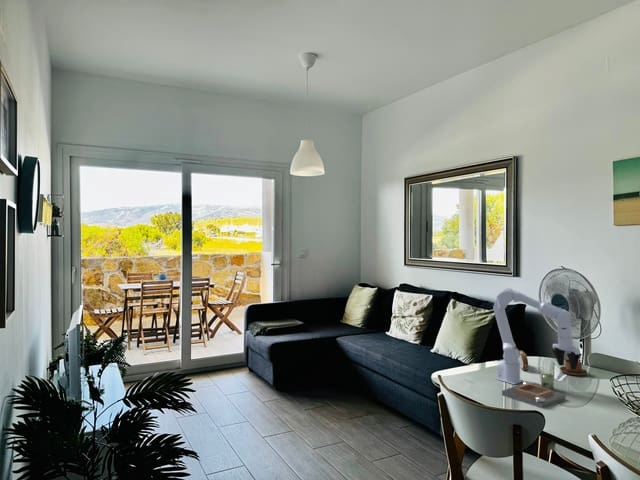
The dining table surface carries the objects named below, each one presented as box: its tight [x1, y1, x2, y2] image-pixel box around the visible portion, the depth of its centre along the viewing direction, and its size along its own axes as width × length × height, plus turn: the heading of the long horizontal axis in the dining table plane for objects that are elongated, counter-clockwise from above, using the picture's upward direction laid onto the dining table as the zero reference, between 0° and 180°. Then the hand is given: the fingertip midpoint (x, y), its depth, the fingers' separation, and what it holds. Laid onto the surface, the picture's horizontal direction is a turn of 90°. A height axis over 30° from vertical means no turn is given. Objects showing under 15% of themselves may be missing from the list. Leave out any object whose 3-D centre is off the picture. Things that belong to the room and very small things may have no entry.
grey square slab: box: [501, 380, 566, 409], centre depth 190 cm, size 18×18×4 cm
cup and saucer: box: [559, 359, 588, 376], centre depth 225 cm, size 12×12×6 cm
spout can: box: [541, 373, 555, 392], centre depth 200 cm, size 5×5×8 cm
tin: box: [518, 350, 529, 371], centre depth 234 cm, size 15×3×8 cm, turn 168°
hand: (567, 367), depth 200 cm, fingers open, 7 cm apart
